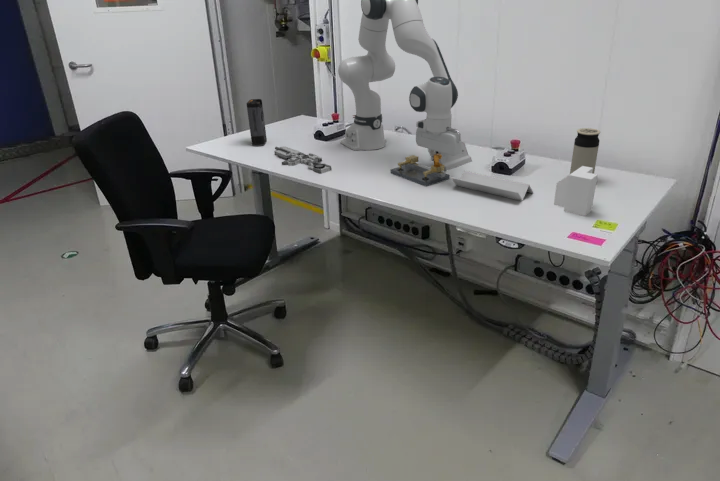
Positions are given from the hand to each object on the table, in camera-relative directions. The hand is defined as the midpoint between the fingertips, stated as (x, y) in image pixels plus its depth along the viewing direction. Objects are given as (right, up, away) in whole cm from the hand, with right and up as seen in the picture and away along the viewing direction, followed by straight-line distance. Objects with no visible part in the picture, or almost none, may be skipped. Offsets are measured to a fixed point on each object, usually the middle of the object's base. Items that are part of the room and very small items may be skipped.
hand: (437, 162), depth 192 cm
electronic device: (-76, +17, +56) cm, 96 cm away
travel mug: (+51, -7, -4) cm, 52 cm away
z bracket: (+17, -12, -10) cm, 23 cm away
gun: (-55, +4, +30) cm, 63 cm away
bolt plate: (-6, -4, +7) cm, 10 cm away
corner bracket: (+40, -18, -25) cm, 50 cm away
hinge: (+8, +2, +18) cm, 20 cm away
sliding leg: (-2, -5, +1) cm, 5 cm away
